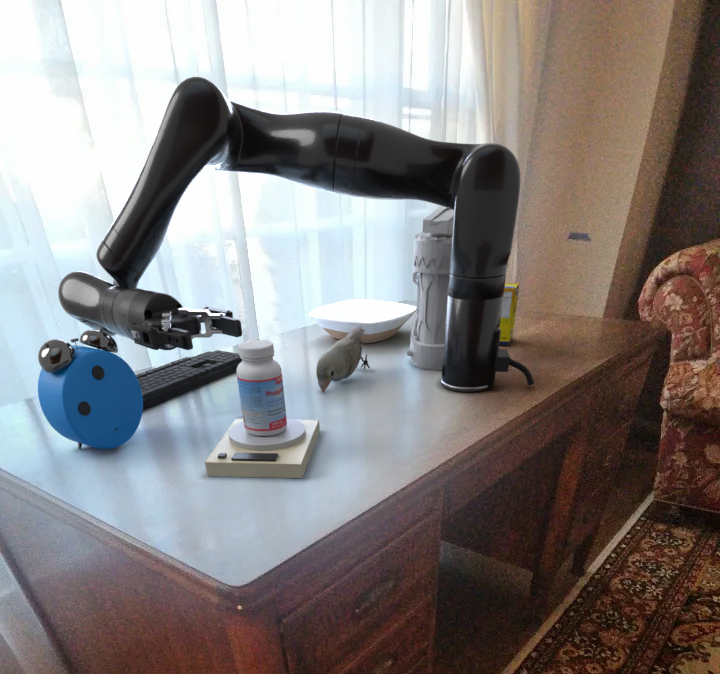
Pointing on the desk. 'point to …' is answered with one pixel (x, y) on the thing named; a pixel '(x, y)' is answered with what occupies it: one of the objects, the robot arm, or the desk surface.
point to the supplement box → (508, 312)
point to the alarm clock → (89, 391)
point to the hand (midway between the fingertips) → (215, 334)
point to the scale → (264, 451)
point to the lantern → (431, 288)
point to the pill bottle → (261, 389)
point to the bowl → (363, 318)
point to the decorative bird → (341, 359)
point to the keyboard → (185, 375)
